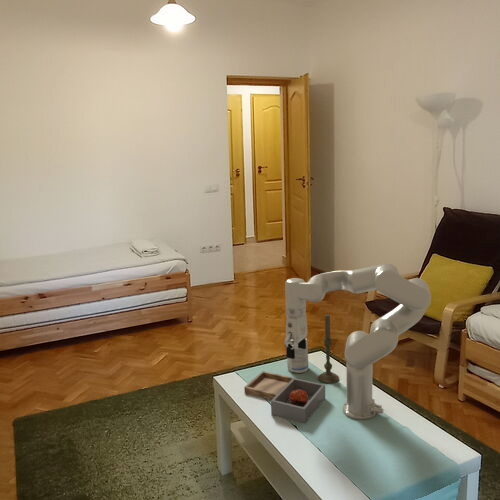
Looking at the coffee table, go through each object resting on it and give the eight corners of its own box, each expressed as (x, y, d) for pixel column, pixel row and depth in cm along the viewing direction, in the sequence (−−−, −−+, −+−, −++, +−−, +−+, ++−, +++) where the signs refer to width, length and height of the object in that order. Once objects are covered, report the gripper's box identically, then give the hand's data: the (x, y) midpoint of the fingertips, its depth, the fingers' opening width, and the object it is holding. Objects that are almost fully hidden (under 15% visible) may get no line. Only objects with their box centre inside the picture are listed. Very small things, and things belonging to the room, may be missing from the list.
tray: (295, 383, 207) (295, 378, 206) (278, 401, 194) (278, 395, 193) (263, 376, 215) (262, 371, 214) (244, 392, 202) (244, 387, 201)
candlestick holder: (326, 371, 216) (325, 308, 210) (343, 378, 209) (342, 313, 203) (313, 379, 210) (311, 314, 204) (330, 386, 203) (329, 319, 197)
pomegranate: (307, 416, 186) (313, 392, 191) (301, 408, 181) (307, 383, 187) (290, 414, 190) (296, 390, 195) (283, 406, 185) (290, 382, 191)
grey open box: (325, 398, 194) (325, 384, 193) (305, 424, 177) (304, 409, 176) (293, 391, 201) (293, 377, 200) (271, 415, 184) (270, 400, 183)
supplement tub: (312, 368, 220) (311, 338, 217) (299, 375, 214) (298, 345, 210) (296, 362, 227) (295, 333, 224) (283, 369, 221) (281, 339, 217)
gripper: (294, 320, 172) (295, 364, 176) (314, 305, 187) (314, 346, 190) (276, 316, 176) (277, 360, 180) (296, 302, 190) (297, 343, 194)
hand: (296, 353), depth 185 cm, fingers open, 9 cm apart
